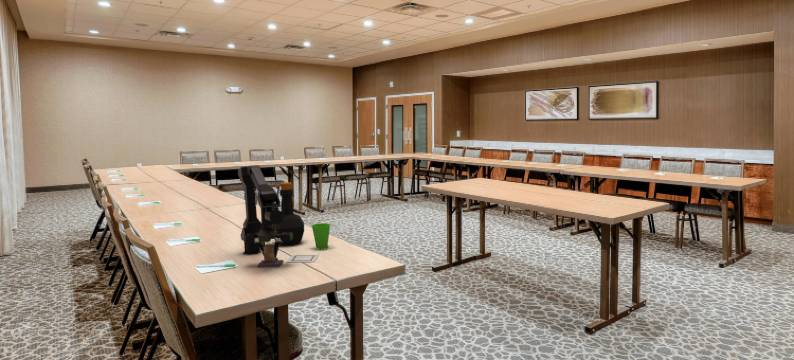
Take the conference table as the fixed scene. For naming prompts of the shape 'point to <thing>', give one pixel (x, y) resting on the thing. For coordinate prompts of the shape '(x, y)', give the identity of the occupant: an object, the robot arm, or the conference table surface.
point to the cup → (321, 234)
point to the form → (302, 258)
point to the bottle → (289, 217)
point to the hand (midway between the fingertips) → (270, 257)
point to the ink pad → (270, 264)
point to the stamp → (269, 254)
